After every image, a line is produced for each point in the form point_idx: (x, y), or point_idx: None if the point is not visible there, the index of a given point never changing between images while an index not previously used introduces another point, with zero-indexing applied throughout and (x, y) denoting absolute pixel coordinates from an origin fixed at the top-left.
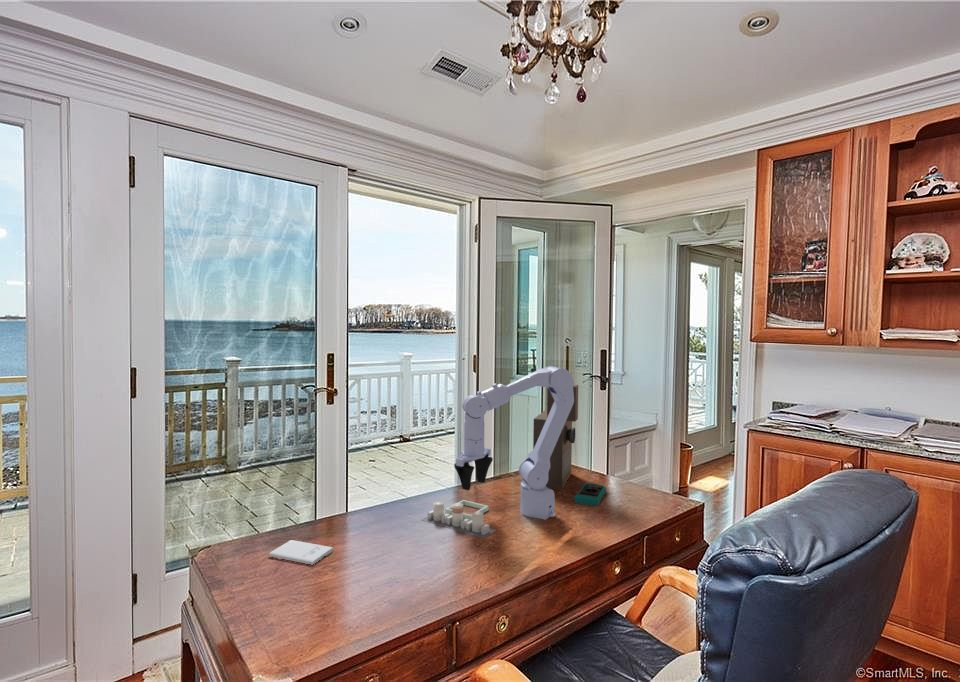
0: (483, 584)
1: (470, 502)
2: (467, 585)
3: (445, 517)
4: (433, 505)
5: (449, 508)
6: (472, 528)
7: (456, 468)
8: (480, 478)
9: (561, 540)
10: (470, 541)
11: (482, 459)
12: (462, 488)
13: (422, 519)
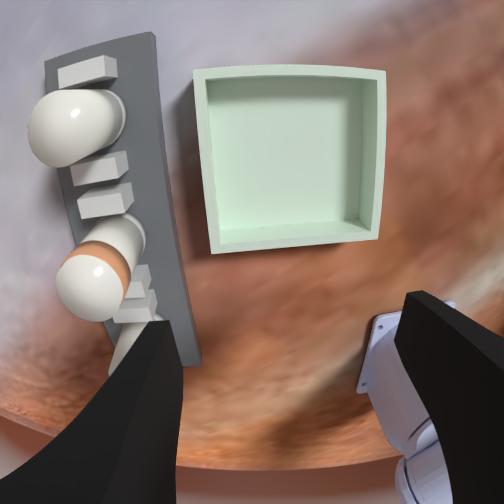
0: (30, 415)
1: (376, 128)
2: (7, 399)
3: (85, 182)
4: (35, 112)
5: (224, 78)
6: (122, 327)
7: (7, 498)
8: (416, 339)
9: (286, 440)
10: (98, 324)
11: (496, 500)
12: (146, 326)
13: (53, 61)
